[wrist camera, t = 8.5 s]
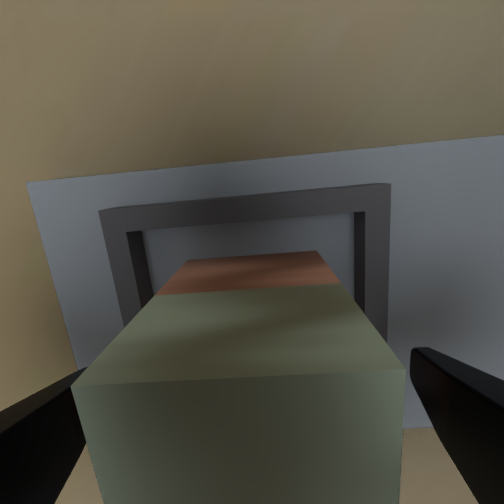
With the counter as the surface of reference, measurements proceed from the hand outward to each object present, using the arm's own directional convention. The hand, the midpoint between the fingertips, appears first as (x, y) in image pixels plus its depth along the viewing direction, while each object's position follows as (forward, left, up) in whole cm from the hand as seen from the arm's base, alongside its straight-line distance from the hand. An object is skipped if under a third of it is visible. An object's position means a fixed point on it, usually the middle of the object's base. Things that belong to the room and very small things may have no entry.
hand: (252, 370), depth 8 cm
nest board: (-2, 0, -5) cm, 5 cm away
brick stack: (0, 0, -4) cm, 4 cm away
